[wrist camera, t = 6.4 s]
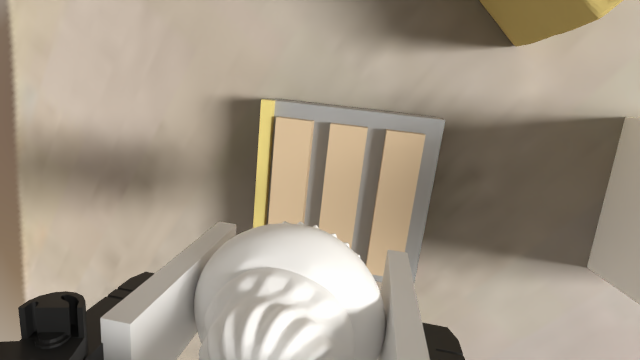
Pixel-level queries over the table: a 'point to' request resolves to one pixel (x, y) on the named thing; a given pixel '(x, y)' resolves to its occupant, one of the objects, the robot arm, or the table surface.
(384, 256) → the dock
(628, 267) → the milk
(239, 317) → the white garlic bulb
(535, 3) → the cheese
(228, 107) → the table surface
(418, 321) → the robot arm
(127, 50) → the table surface
